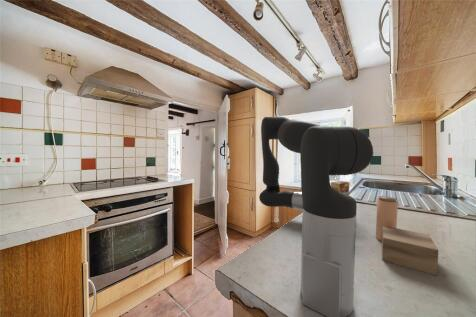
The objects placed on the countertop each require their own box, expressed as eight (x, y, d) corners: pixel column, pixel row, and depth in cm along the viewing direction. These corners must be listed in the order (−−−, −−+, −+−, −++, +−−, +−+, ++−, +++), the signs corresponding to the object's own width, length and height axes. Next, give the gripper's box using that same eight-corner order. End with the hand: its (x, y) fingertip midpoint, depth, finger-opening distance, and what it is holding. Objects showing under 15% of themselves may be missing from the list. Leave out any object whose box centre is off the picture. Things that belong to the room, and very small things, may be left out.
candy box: (338, 219, 78) (339, 183, 77) (328, 216, 82) (329, 182, 81) (348, 215, 83) (349, 181, 82) (339, 212, 87) (340, 180, 86)
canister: (396, 245, 56) (398, 200, 56) (375, 240, 59) (377, 198, 59) (395, 239, 60) (397, 197, 60) (375, 234, 64) (377, 195, 63)
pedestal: (437, 275, 43) (438, 250, 42) (382, 259, 49) (383, 237, 48) (428, 256, 50) (429, 234, 50) (381, 244, 57) (382, 225, 56)
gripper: (299, 196, 70) (349, 203, 60) (310, 189, 81) (354, 195, 71) (299, 215, 70) (348, 226, 60) (310, 206, 81) (353, 214, 71)
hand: (351, 209), depth 65 cm, fingers open, 8 cm apart
